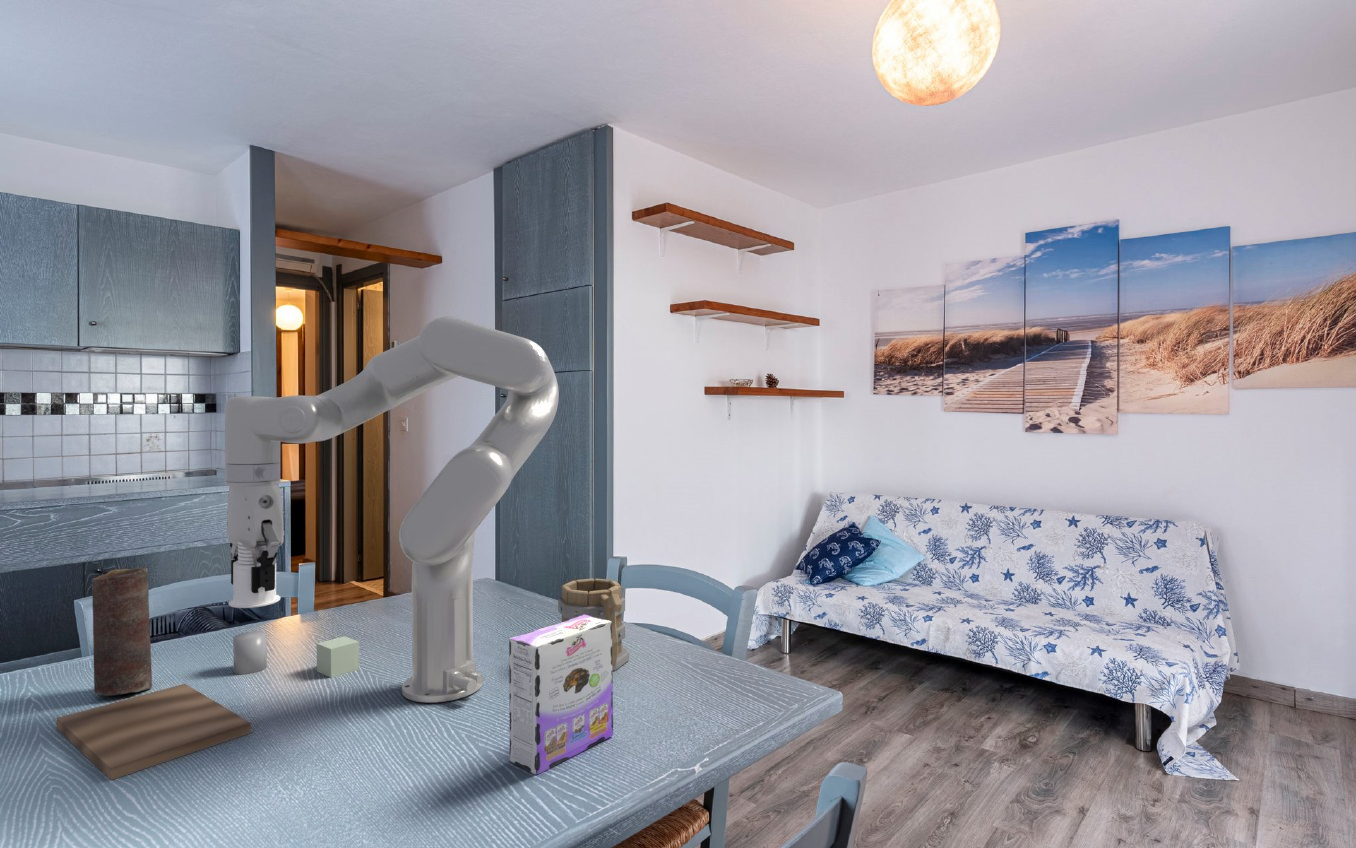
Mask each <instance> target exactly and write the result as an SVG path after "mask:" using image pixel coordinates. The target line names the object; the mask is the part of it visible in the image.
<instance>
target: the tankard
mask: <svg viewBox="0 0 1356 848" xmlns="http://www.w3.org/2000/svg"><path fill="white" fill-rule="evenodd" d="M557 611H558V613H559V614H560V615H561V622H564V621H567V620H570V619H573V618H576V617H579V616H582V615H588V616H592V617H596V618H601V619H604V620H608V621H612V672H615V671H616V670H618V669H620V668H622V666H623V665H625V664H626V663H628V662H629V661H630V651H628V650H627V648H625V647H624V646H623V645H622V643H623V642H622V641H623V640H624V639H625V638H626V625H625V624H624V623H622V617H623V616H622V615H623V614H622V613H624V612H625V611H626V599H625V598H624V597H623V596H622V585H621V584H620V583H619V582H617V581H615V580H614V579H605V578H603V579H602V578H595V579H594V577H593V578H585V579H575V580H572V581H569V582H567V583H564V584H563V585H562V586H561V597H560V598H558V600H557Z"/></svg>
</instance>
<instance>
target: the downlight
mask: <svg viewBox="0 0 1356 848" xmlns="http://www.w3.org/2000/svg"><path fill="white" fill-rule="evenodd" d="M238 544H240V545H243V544H242V543H240V542H238ZM261 545H266V542H261V543H257V546H261ZM262 552H263V551H259V556H261V554H262ZM251 567H255V566H254V562H253V557H252V552H251V549H247V548H245V547H242V546H239V545H238V561H236V562H234V563H233V585H232V587H233V590H232V597H233V598H232V599H231V600H229V601H228V606H229V607H230V608H231V607H232V608H236V609H252V608H253V609H254V608H259V607H266V606H268V605H273V604H276V603H278V602H279V601H280V600H281V596H280V595H279V594H277V563H276V564H275V589H274V590H271V591H265V587H264V588H263V587H260V588H259V589H258V593H253V592H252V591H251Z"/></svg>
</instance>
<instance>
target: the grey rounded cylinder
mask: <svg viewBox="0 0 1356 848" xmlns="http://www.w3.org/2000/svg"><path fill="white" fill-rule="evenodd" d="M232 638H233V639H232V647H233V652H232V653H233V658H232V659H233V662H232V663H233V674H235V675H240V676H241V675H250V674H251V675H252V674H256V673H258V672H262V671H264V670H266V669H267V664H268V663H267V658H268V657H267V632H266V631H263V630H261V631H260V630H257V631H256V630H255V631H248V632H242V633H239V634H236V635H234V636H233V637H232Z"/></svg>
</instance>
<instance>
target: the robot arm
mask: <svg viewBox="0 0 1356 848" xmlns="http://www.w3.org/2000/svg"><path fill="white" fill-rule="evenodd" d="M457 377H461V378H463V379H464V378H465V379H469V380H471V381H475V382H478V383H482V384H486V385H489V386H492V387H497V388H500V389H503V390H507V391H508V392H507V397H506V401H505V402H504V403H503V404H502V406H501V407H500V409H499V410H498V411H497V412H496V413H495V414H494V416H493V417H492V418H491V420H490V422H489V423H488V424H487V426H486V427H485V428H484V429H483V431H482V432H481V433H480V434H479V436H478V437H476V439H474V441H473V442H472V443H471V444H470V445H469V446H468V447H466V448H463V449H461V450H459V451H458V452H457V453H456V454H454V456H453V457H452V458H451V459H450V460H448V462H447V463H446V464H445V466H444V467H443V468H442V469H441V470H440V472H439V473H438V474H437V476H436V477H435V478H434V479H433V480H432V482H431V483H430V485H429V486H428V487H427V488H426V489H425V491H424V492H423V493H422V495H421V496H420V497H419V498H418V500H417V501H416V502H415V504H414V505H412V507H411V508H410V510H409V511H408V512H407V514H406V515H405V516H404V518H403V520H402V521H401V524H400V526H399V533H398V541H399V544H400V545H399V546H400V548H401V550H402V552H403V554H404V555H405V556H406V557H407V558H408V559H409V561H411V562H412V566H411V659H412V660H411V663H412V664H411V669H412V670H411V671H412V672H411V674H412V676H411V677H409V678H408V679H406V680H405V681H404V682H403V683H402V686H401V693H402V696H403V697H404V698H406V699H407V700H409V701H413V702H418V703H431V704H432V703H444V702H450V701H455V700H459V699H462V698H465V697H468V696H471V695H472V694H474V693H476V692H477V691H478V690H480V689H481V688H482V687H483V683H484V679H485V678H484V675H483V674H482V673H480V672H479V671H478V670H477V662H476V661H474V614H473V613H474V612H473V610H474V606H473V605H474V603H473V602H474V601H473V599H474V597H473V595H474V593H473V592H474V550H475V549H474V547H475V546H474V545H475V531H476V530H477V529H478V528H479V526H480V525H481V524H482V523H483V521H484V520H485V519H486V517H487V516H488V515H489V514H490V513H491V511H492V510H493V509H494V507H495V506H496V505H497V503H498V502H499V501H500V500H501V498H502V497H503V496H504V494H505V493H506V491H507V490H508V488H510V485H511V483H512V481H513V479H514V477H515V476H516V474H517V473H518V472H519V470H520V469H521V467H522V466H523V465H524V464H525V462H526V461H527V459H528V458H529V457H530V456H531V455H532V453H533V452H534V451H535V449H536V448H537V446H538V445H539V444H540V442H541V441H542V439H543V438H544V437H545V435H546V433H547V432H548V430H549V429H550V428H551V425H552V423H553V421H554V420H555V417H556V414H557V409H558V407H559V396H560V395H559V392H560V391H559V385H558V380H557V376H556V374H555V370H554V368H553V366H552V364H551V362H550V360H549V357H548V355H547V353H546V352H545V351H544V349H543V348H542V347H541V345H539V344H538V343H536V342H535V341H533V340H531V339H529V338H527V337H522V336H518V335H517V334H516V335H515V334H512V333H509V332H506V331H502V330H498V329H495V328H491V327H487V326H484V325H482V324H478V323H474V322H471V321H469V320H465V319H462V318H459V317H456V316H441V317H437V318H435V319H433V320H431V321H429V322H428V323H427V324H426V325H425V326H424V327H423V329H422V330H421V331H420V333H419V335H417V336H415V337H413V338H411V339H409V340H407V341H405V342H403V343H401V344H398V345H396V346H394V347H392V348H390V349H388V350H385V351H383V352H379V353H378V354H376V355H374V357H372V358H371V359H370V360H369V361H368V362H367V364H366V365H365V367H364V369H363V370H362V371H361V372H360V373H358V374H357V375H355V376H354V377H353V378H351V379H349V380H347V381H345V382H343V383H341V384H339V385H338V386H335V387H333V388H331V389H329V390H326V391H325V392H322V393H320V394H318V395H290V396H289V395H288V396H281V397H271V396H261V395H260V396H259V395H244V396H243V395H241V396H240V395H239V396H238V395H236V396H233V397H230V398H228V399H227V401H226V402H225V405H224V486H228V495H227V508H226V536H227V540H228V542H229V547H230V554H229V557H230V584H231V585H232V586H233V563H234V562H236V561H238V545H239V546H242V547H245V548H247V549H251V552H252V557H253V562H254V566H255V567H251V591H252V592H253V593H258V589H259V588H260V587H263V588H264V587H265V591H271V590H274V589H275V564H276V565H277V555H278V549H279V547H281V546H282V545H283V543H284V540H285V539H284V535H285V534H284V519H283V518H284V517H283V515H284V514H283V504H282V495H281V489H280V485H279V484H280V483H281V442H282V443H288V444H299V445H300V444H309V443H314V442H323V441H327V440H330V439H332V438H335V437H337V436H339V435H342V434H344V433H345V432H347V431H349V430H352V429H354V428H356V427H358V426H360V425H362V424H364V423H366V422H368V421H370V420H372V419H374V418H376V417H377V416H380V415H381V414H384V413H385V412H388V411H390V410H392V409H394V408H396V407H398V406H400V404H402V403H403V404H404V403H405V402H407V401H409V400H412V399H414V398H415V397H417V396H419V395H421V394H423V393H425V392H427V391H429V390H432V389H434V388H435V387H438V386H441V385H442V384H445V383H446V382H449V381H451V380H453V379H455V378H457ZM238 542H240V543H242V544H243V545H240V544H238ZM261 542H266V545H261V546H257V543H261ZM259 551H263V552H262V554H261V556H259Z"/></svg>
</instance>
